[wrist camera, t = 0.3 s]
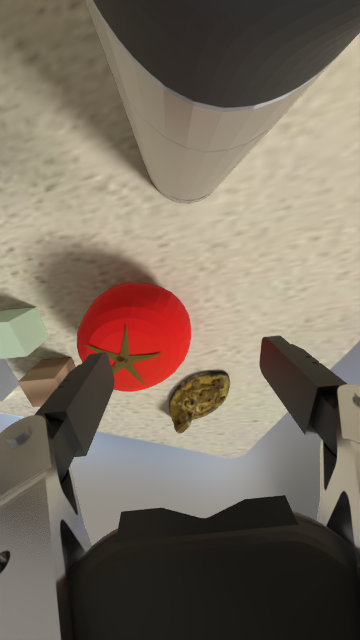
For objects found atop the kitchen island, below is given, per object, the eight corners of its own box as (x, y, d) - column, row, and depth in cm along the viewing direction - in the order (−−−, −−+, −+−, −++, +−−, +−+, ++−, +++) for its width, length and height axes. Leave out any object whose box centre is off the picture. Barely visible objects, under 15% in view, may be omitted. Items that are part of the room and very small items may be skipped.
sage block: (1, 309, 26) (-35, 325, 21) (36, 306, 26) (8, 321, 21) (17, 339, 28) (-12, 359, 23) (50, 336, 28) (26, 356, 23)
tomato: (145, 252, 23) (127, 263, 14) (204, 319, 28) (222, 362, 18) (76, 319, 27) (25, 364, 17) (139, 369, 31) (126, 427, 22)
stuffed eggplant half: (204, 354, 32) (157, 404, 37) (206, 370, 28) (152, 425, 32) (242, 381, 34) (193, 426, 38) (250, 400, 29) (193, 448, 34)
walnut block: (41, 359, 30) (17, 381, 25) (71, 356, 30) (53, 378, 25) (52, 382, 32) (33, 407, 27) (81, 380, 32) (66, 404, 27)
